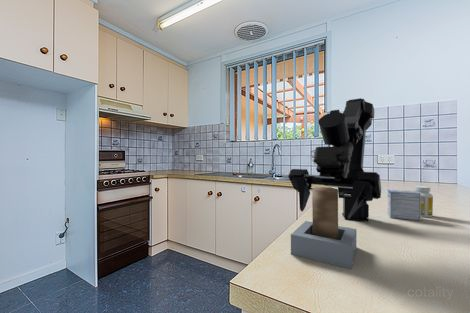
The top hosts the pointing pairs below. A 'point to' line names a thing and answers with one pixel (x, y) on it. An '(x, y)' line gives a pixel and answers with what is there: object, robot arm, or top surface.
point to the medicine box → (404, 204)
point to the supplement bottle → (425, 201)
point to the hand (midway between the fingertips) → (322, 213)
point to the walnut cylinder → (325, 212)
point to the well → (324, 245)
